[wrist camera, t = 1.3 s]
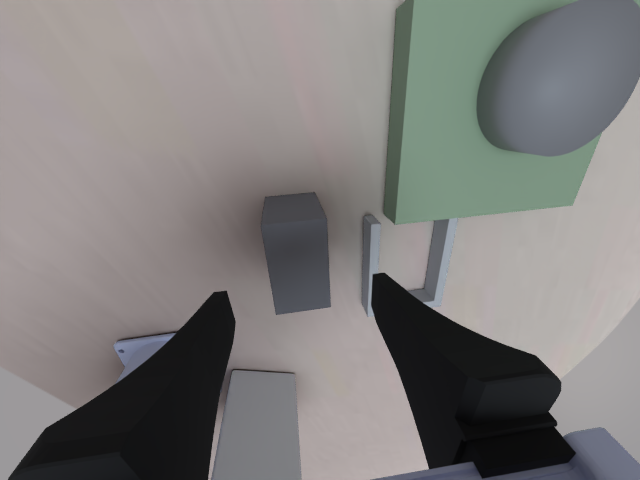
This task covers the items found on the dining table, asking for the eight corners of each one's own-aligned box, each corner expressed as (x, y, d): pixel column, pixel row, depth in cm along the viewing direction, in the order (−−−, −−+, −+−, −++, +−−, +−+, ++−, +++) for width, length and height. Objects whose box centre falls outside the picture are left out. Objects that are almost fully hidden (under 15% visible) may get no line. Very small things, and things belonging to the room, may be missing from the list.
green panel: (516, 281, 29) (564, 316, 24) (361, 303, 27) (380, 345, 22) (613, 5, 18) (736, -36, 13) (369, 9, 16) (408, -36, 11)
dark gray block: (319, 264, 24) (330, 307, 19) (276, 269, 24) (275, 314, 18) (314, 192, 21) (326, 218, 16) (265, 196, 21) (260, 225, 15)
